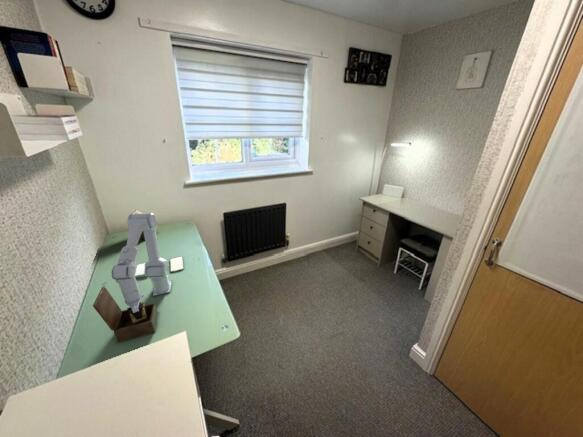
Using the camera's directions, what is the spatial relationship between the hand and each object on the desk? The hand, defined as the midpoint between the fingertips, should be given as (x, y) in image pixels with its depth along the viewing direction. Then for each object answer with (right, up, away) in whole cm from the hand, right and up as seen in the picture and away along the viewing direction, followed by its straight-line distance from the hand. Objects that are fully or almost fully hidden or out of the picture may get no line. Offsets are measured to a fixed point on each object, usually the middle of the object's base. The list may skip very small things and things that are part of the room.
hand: (138, 314), depth 102 cm
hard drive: (-22, +10, +38) cm, 45 cm away
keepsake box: (-1, -6, +1) cm, 6 cm away
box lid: (-8, +5, -7) cm, 12 cm away
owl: (-43, +28, +78) cm, 94 cm away
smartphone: (-5, +13, +44) cm, 46 cm away
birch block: (0, -1, +1) cm, 1 cm away
